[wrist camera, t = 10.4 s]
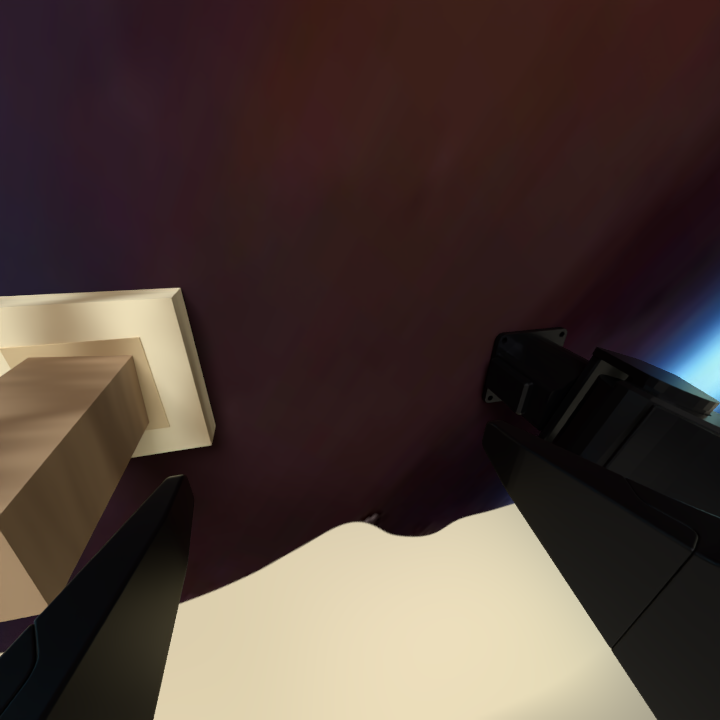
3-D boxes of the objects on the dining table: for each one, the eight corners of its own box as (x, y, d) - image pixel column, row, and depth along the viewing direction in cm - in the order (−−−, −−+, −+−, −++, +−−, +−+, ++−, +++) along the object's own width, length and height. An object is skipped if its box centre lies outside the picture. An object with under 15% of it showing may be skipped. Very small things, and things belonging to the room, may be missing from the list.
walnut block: (132, 355, 17) (-6, 521, 8) (149, 422, 19) (51, 611, 10) (28, 357, 16) (-257, 554, 7) (58, 428, 18) (-137, 648, 9)
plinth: (180, 287, 18) (170, 298, 16) (215, 426, 23) (211, 446, 21) (-41, 298, 16) (-81, 312, 14) (49, 449, 20) (28, 474, 19)
